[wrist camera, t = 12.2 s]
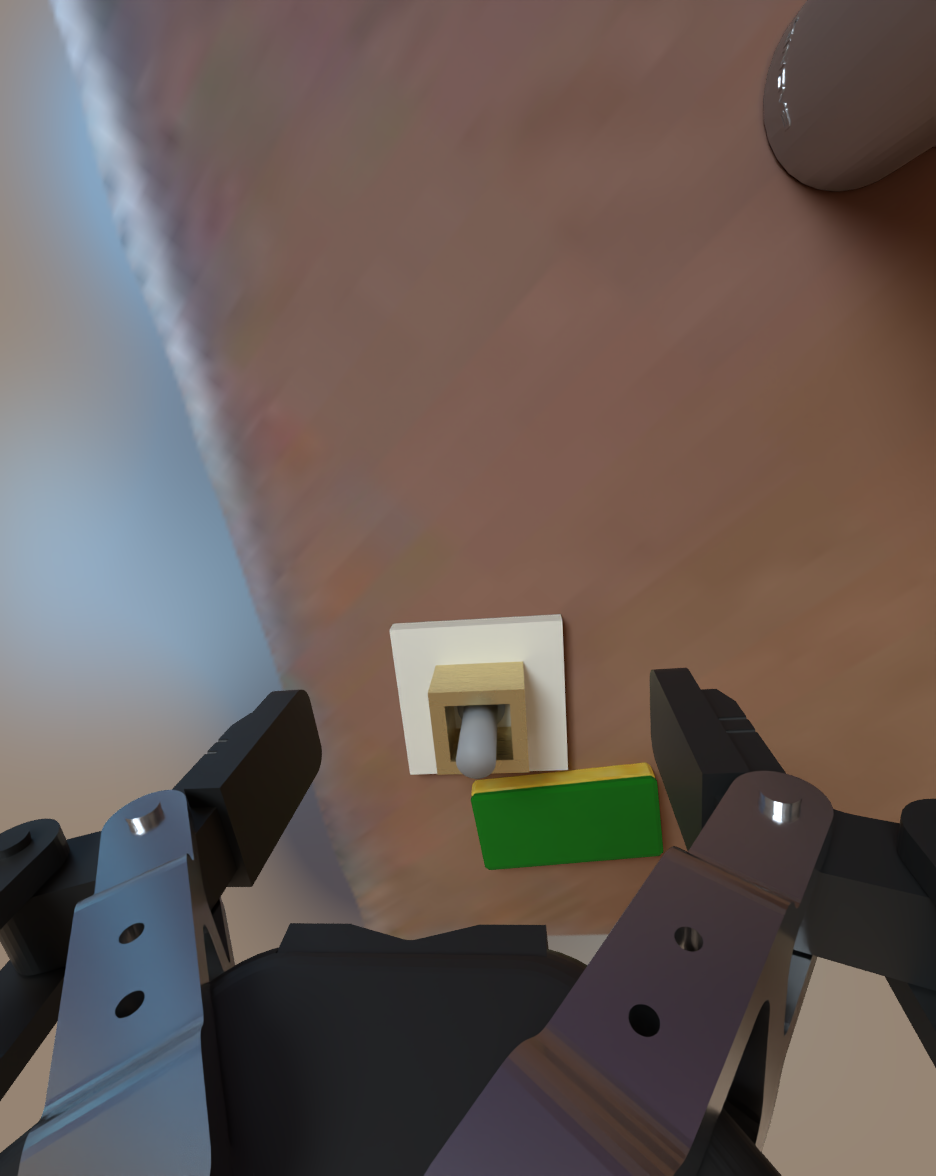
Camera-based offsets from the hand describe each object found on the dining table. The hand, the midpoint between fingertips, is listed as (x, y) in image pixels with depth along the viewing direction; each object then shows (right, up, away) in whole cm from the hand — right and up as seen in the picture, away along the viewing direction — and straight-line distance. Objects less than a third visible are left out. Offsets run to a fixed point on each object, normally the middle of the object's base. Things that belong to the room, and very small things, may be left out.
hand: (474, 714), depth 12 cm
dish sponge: (+8, -15, +31) cm, 35 cm away
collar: (+1, -5, +26) cm, 27 cm away
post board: (+1, -5, +27) cm, 28 cm away
